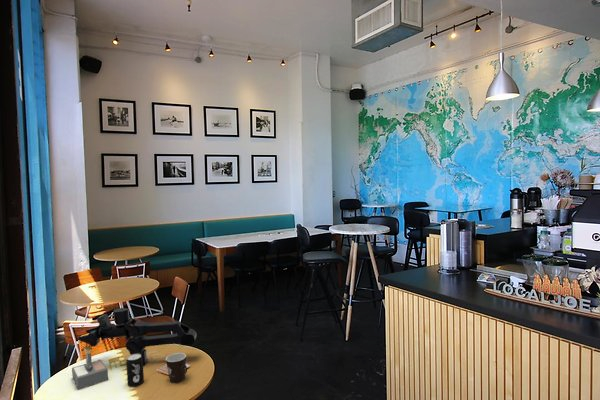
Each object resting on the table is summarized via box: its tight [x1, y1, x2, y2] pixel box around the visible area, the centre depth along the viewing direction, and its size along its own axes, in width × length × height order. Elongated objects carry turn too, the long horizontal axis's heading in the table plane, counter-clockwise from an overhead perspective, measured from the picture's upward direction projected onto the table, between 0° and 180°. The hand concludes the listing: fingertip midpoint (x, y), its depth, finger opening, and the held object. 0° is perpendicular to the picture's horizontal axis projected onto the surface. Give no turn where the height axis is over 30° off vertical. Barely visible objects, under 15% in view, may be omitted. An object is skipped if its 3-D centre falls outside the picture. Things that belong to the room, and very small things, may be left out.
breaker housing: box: [71, 359, 109, 391], centre depth 182 cm, size 12×13×5 cm
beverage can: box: [125, 354, 145, 387], centre depth 177 cm, size 7×7×12 cm
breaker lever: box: [83, 345, 93, 370], centre depth 182 cm, size 2×5×9 cm, turn 39°
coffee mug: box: [165, 352, 188, 384], centre depth 177 cm, size 12×9×10 cm
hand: (81, 334), depth 192 cm, fingers open, 9 cm apart
